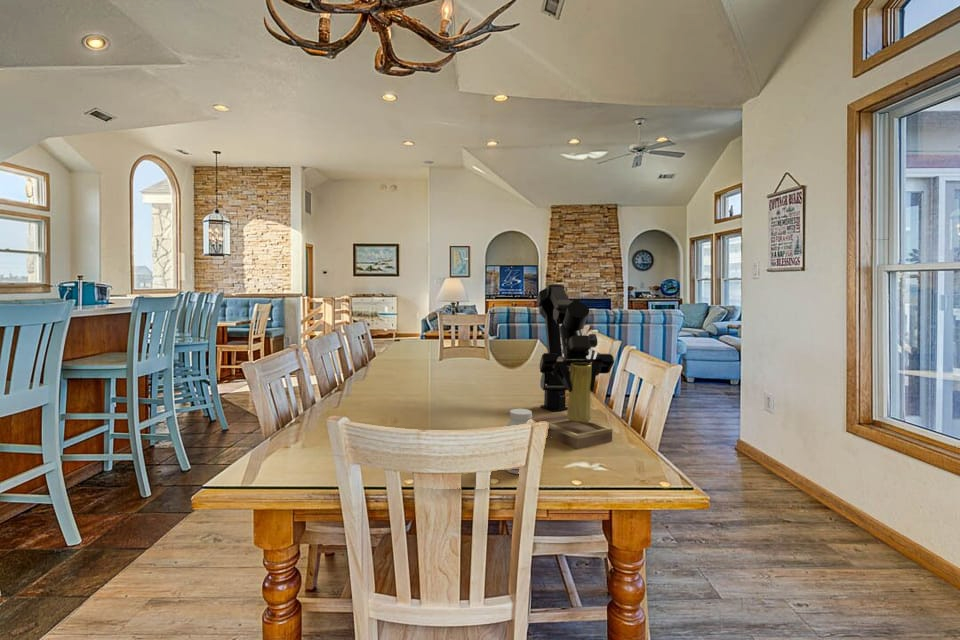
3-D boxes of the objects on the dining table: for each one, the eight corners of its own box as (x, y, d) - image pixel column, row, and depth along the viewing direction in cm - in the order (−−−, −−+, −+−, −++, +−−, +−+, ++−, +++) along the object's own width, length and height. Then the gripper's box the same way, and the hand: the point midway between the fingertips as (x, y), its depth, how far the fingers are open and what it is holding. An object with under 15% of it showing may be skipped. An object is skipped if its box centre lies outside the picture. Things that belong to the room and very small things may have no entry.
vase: (594, 418, 135) (596, 363, 134) (585, 423, 130) (587, 367, 129) (572, 414, 139) (574, 361, 137) (562, 419, 134) (564, 364, 132)
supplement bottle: (518, 461, 117) (519, 405, 116) (541, 470, 112) (543, 411, 111) (497, 469, 112) (499, 410, 111) (520, 478, 108) (522, 417, 107)
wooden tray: (526, 427, 143) (526, 415, 143) (559, 421, 150) (560, 410, 149) (576, 449, 126) (577, 435, 126) (611, 441, 133) (612, 428, 132)
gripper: (543, 322, 135) (550, 373, 125) (613, 323, 137) (626, 373, 127) (536, 347, 144) (542, 397, 134) (603, 348, 145) (614, 397, 135)
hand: (581, 391), depth 132 cm, fingers closed on vase, 5 cm apart
